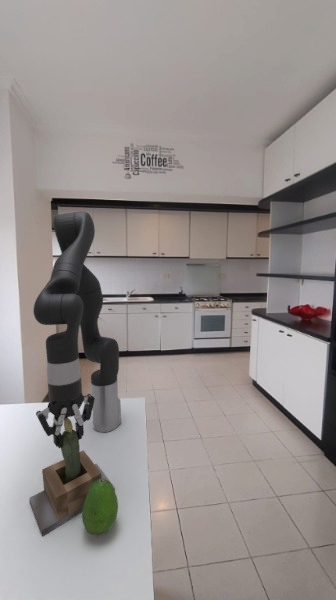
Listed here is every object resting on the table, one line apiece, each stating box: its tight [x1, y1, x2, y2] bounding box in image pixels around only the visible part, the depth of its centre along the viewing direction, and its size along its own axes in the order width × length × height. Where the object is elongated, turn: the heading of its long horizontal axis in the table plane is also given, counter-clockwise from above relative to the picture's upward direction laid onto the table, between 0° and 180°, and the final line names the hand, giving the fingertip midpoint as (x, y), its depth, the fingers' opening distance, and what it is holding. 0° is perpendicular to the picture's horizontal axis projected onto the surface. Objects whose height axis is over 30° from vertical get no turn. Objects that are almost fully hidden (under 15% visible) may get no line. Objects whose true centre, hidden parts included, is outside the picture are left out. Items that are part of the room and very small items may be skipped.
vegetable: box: [60, 417, 81, 483], centre depth 69 cm, size 4×4×20 cm
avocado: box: [81, 479, 119, 536], centre depth 61 cm, size 8×8×12 cm
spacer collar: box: [28, 450, 116, 537], centre depth 70 cm, size 18×11×8 cm, turn 129°
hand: (69, 441), depth 68 cm, fingers closed on vegetable, 4 cm apart
